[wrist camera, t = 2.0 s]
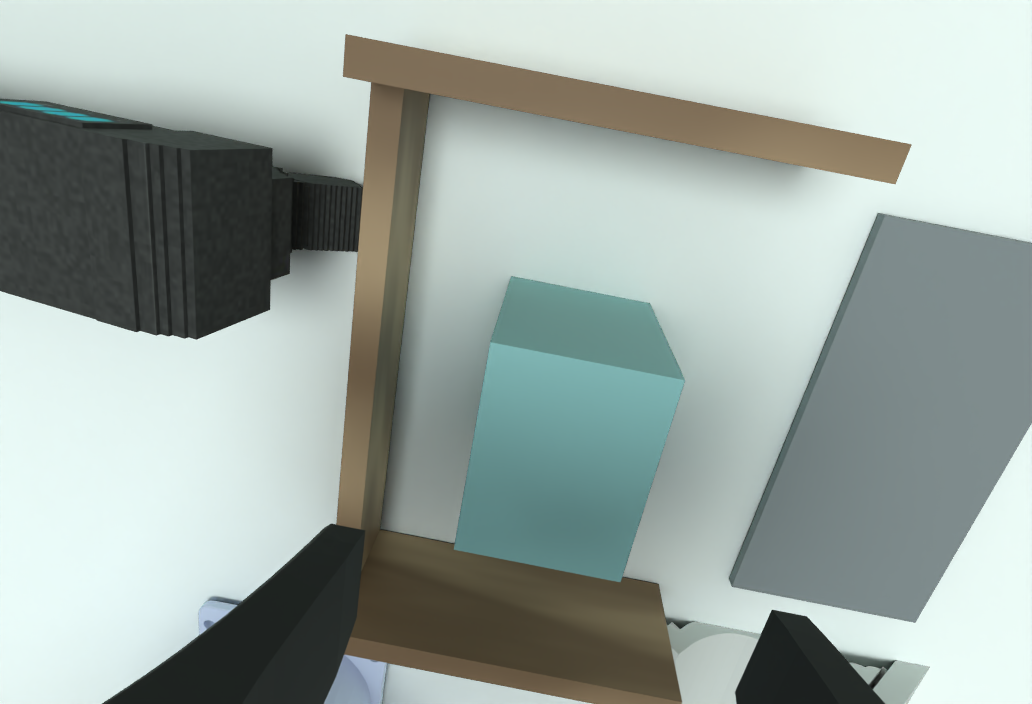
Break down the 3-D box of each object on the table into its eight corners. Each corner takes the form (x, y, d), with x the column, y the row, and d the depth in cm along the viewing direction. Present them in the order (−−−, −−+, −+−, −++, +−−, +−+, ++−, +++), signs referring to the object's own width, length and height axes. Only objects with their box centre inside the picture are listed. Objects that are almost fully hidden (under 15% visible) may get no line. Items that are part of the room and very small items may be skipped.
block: (605, 460, 21) (620, 582, 16) (482, 436, 21) (453, 549, 16) (649, 302, 19) (684, 380, 14) (511, 275, 19) (490, 341, 14)
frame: (653, 599, 23) (675, 719, 19) (357, 541, 23) (307, 647, 19) (815, 136, 17) (911, 144, 12) (405, 56, 17) (345, 34, 12)
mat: (909, 614, 23) (915, 622, 22) (729, 578, 23) (732, 586, 22) (1113, 259, 17) (1125, 261, 17) (878, 213, 17) (885, 215, 17)
